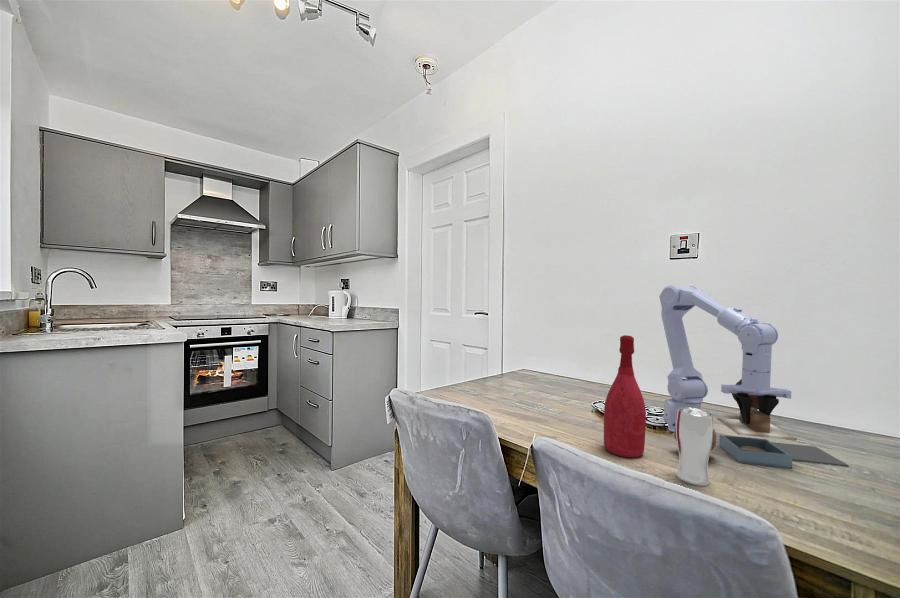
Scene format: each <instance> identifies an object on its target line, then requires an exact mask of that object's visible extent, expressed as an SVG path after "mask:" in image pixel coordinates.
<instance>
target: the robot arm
mask: <svg viewBox="0 0 900 598" xmlns="http://www.w3.org/2000/svg"><path fill="white" fill-rule="evenodd" d="M659 301H660V305H661V313H660V314H661V321H662V325H663V330H664V334H665V338H666V343H667V347H668V351H669V356H670V360H671V365H672V371H670V372H669V374H668V375H667V380H668V381H667V392H668V394H669V396H670V397H671V398H665V400H664V402H663V420H664V422H665V423H667V424H668V428H667V430H668V431H669V432H671V433H672V432H673V433H674V432H675V430H676V421H677V413H678V408H682V407H689V408H697V409H702V402H703V401H704V398H706V397H707V395H708V394H709V393H708V392H709V388H708V385H707V383H706V382H705V380H704V378H703V374H702V373H701V372H700V371H699V370H697V369H696V368H695V367H694V364H693V363H694V362H693V359H692V356H691V351H690V347H689V343H688V342H689V341H688V339H687V335H686V329H685V326H684V322H683V317H684V316H685V314H687V313H688V312H689V311H690V310H692V309H693V308H694V307H695V306H696V307H697V308H699V309H701V310H703V311H705V312H706V313H708V314H710V315H712V316H714V317H715V318H717V319H716V320H717V323H718V324H719V326H722V327H723V328H725V329H726V330H728V331H729V332H730V333H733V334H734V335H736V336H737V339H738V341H739V342H740V344H741V350H742V365H741V366H742V367H741V368H742V369H741V379H742V385H735V384H721V387H720V389H721V390H720V391H721V393H723V394H726V395H729V394H732V393H733V396H734V398H735V400H736V401H735V400H734V401H735V402H736V404H737V406H738V409H739V413H740V412H741V416H742V421H743V422H744V423H746V424H749V423H750V410H751V405H752V402H753V399H751V398H750V396H748V395H757V398H758V405H759V409H758V411H760V412H762V413H764V414H766V415H768V416H770V417H771V414H772V413H773V410H774V409H775V408H776V407H777V405H779V403H780V400H779V398H784V399H792V390H790V389H787V388H779V387H778V388H777V387H771V375H772V374H771V372H772V354H773V353H772V349H773V348H772V347H773V345H774V344H775V343H776V342H777V341H778V338H779V333H778V331H777V328H776V327H774V326H773V325H772V324H771V323H769V322H761V323H760V321H759V319H758V318H756V317H751V316H750V315H748V314H746V313H744V312H743V309H742V308H740V307H732V306H731V307H725V306H724V305H722V304H720V303H719V302H718V301H716V300H715V299H713V298H712V297H710V295H707V294H706V293H705V292H704V291H703V290H702V289H699V288H697V286H695V285H694V286H693V285H692V286H691V285H690V286H686V285H685V286H684V285H683V286H681V285H672V284H671V285H669V284H668V285H667V286H665V287H664V288H663V289H662V291H661V292H660V294H659ZM751 392H752V393H751ZM733 396H732V397H733ZM734 398H733V399H734Z"/></svg>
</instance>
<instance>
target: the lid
mask: <svg viewBox="0 0 900 598" xmlns="http://www.w3.org/2000/svg"><path fill="white" fill-rule="evenodd" d="M717 420H718V421H719V422H720V423H721V424H723V425H724V426H726V428H728V429H730V430H731V431H732V432H734V433H736V434H737V435H739V436H740V435H741V436H748V437H757V438H758V437H759V438H766V439H767V438H769V439H780V440H790V441H798V439H797V437H795V436H794V435H792V434H791V433H789V432H787V431H785V430H783V429H781V428H780V427H778V426H777V425H774V424H772V423H771V415H770V416H768V415H766V414H764V413H762V412H760V411H759V409H758V410H756V409H755V408H751V410H750V423H749V424H746V423H744V422H743V421H742V416H741V412H740V411H739V419H737V418H725V417H717Z"/></svg>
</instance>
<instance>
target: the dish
mask: <svg viewBox="0 0 900 598" xmlns="http://www.w3.org/2000/svg"><path fill="white" fill-rule="evenodd" d="M772 442H773V441H770V440H769V439H767V438H766V439H765V438H758V437H757V438H756V437H749V436H748V437H745V436H737V435H726V434H719V443H718V446H719V447H720V448H721V449H723V450H724V451H725V452H726V453H727V454H728V455H730V456H731V457H732V458H733V459H734V460H735V461H737V463H740V464H751V465H758V466H765V467H777V468H784V469H793V461H792V455H790V454H789V453H787V452H786V451H784V450H782V449H781V448H779V447H778V446H776V445H775V444H773V443H772Z"/></svg>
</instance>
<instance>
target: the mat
mask: <svg viewBox="0 0 900 598" xmlns="http://www.w3.org/2000/svg"><path fill="white" fill-rule="evenodd" d="M771 442H772V443H773V444H775V445H776V446H778V447H779V448H781V449H782V450H784V451H786V452H787V453H789V454H790V455H792V462H802V463H810V462H812V463H811V464H819V463H823V464H822V465H828V464H831V465H830V466H837V465H840V466H839V467H846V468H849V467H850V465H849V464H847V463H846V462H844V461H842V460H840V459H838V458H836V457H835V456H833V455H832V454H830V453H828V452H826V451H824V450H822V449H821V448H818V447H817V446H812V445H804V444H803V445H802V444H794V443H784V442H782V443H781V442H776V441H775V442H773V441H771Z"/></svg>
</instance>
